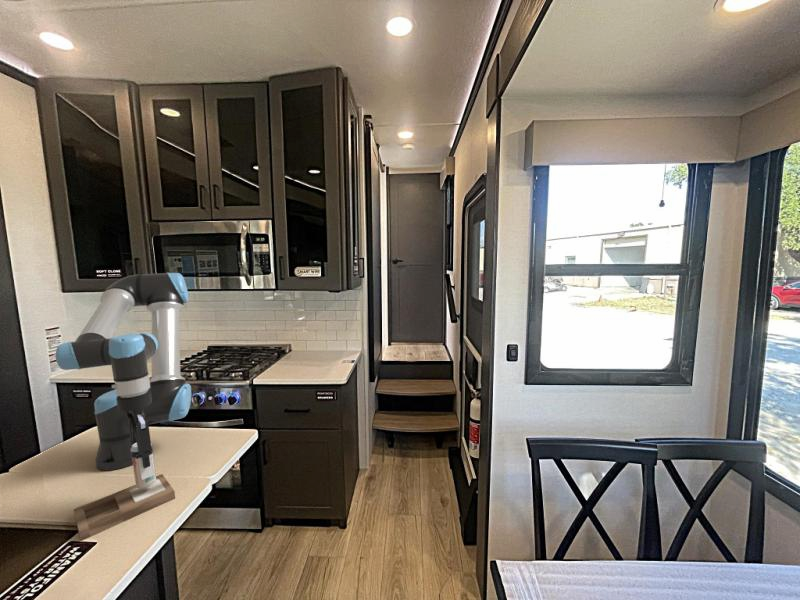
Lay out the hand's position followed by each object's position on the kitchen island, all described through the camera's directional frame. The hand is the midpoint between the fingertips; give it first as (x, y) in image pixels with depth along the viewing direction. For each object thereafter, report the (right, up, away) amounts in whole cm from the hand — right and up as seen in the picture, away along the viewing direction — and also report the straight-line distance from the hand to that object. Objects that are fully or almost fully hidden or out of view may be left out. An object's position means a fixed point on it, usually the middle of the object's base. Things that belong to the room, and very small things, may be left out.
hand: (145, 473), depth 101 cm
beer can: (0, -4, 0) cm, 4 cm away
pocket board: (-3, -8, -3) cm, 9 cm away
